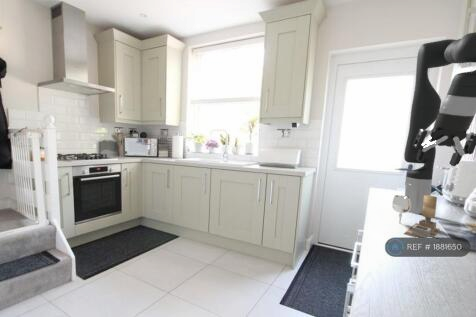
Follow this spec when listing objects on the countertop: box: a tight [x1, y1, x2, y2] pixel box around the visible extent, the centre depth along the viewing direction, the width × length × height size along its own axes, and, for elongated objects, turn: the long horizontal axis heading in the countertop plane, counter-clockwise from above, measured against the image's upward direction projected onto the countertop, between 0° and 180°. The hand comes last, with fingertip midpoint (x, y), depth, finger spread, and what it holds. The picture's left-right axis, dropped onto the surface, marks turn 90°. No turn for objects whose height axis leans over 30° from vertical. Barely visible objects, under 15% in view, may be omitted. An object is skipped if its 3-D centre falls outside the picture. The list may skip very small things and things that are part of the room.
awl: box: [421, 195, 438, 224], centre depth 80 cm, size 4×4×12 cm
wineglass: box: [391, 194, 411, 224], centre depth 85 cm, size 6×6×12 cm
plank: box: [403, 218, 441, 239], centre depth 77 cm, size 18×7×4 cm, turn 130°
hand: (435, 163), depth 69 cm, fingers open, 8 cm apart
